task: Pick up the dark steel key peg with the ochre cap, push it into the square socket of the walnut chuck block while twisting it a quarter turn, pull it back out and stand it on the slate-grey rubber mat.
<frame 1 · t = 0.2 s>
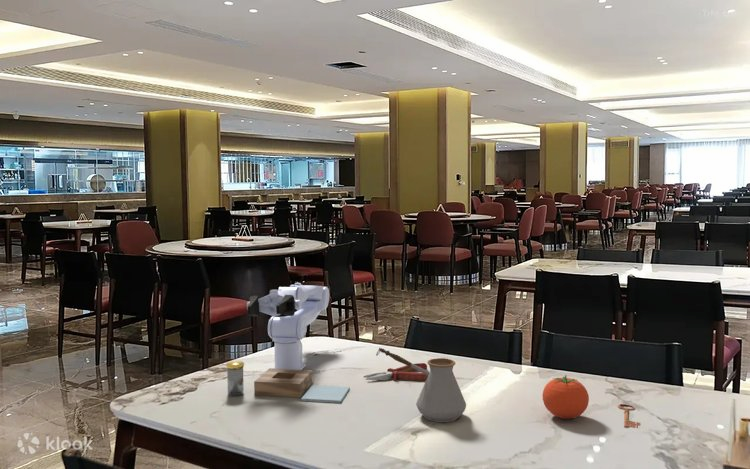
hand: (263, 310, 168), 21 cm above the table, tool horizontal, fingers open, 7 cm apart
coffee pot: (420, 415, 154), on the table
tomato: (564, 418, 151), on the table
rubber mat: (326, 394, 168), on the table
chuck block: (284, 388, 173), on the table
steel key peg: (235, 394, 168), on the table
pliers: (401, 377, 185), on the table
key: (630, 419, 152), on the table
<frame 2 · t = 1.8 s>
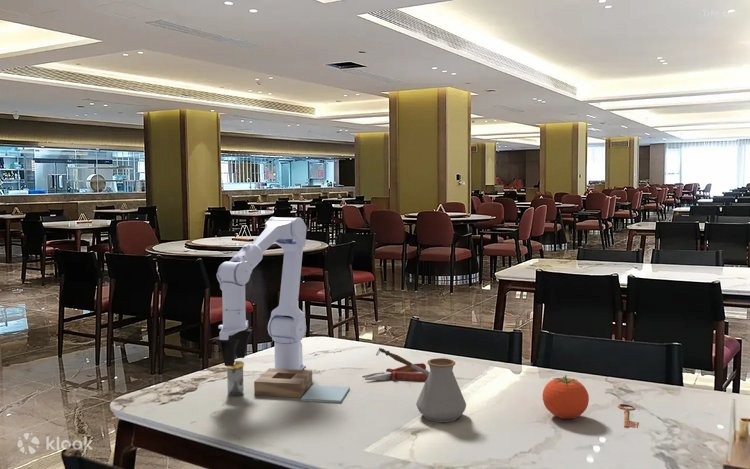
hand: (234, 361, 168), 8 cm above the table, tool pointing down, fingers open, 7 cm apart
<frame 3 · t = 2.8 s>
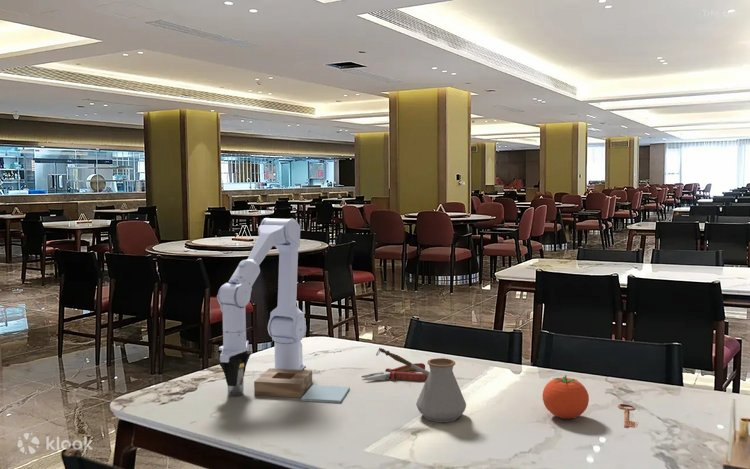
hand: (235, 382, 168), 3 cm above the table, tool pointing down, fingers closed on steel key peg, 4 cm apart
steel key peg: (235, 394, 168), on the table, touching gripper
everything else where it was.
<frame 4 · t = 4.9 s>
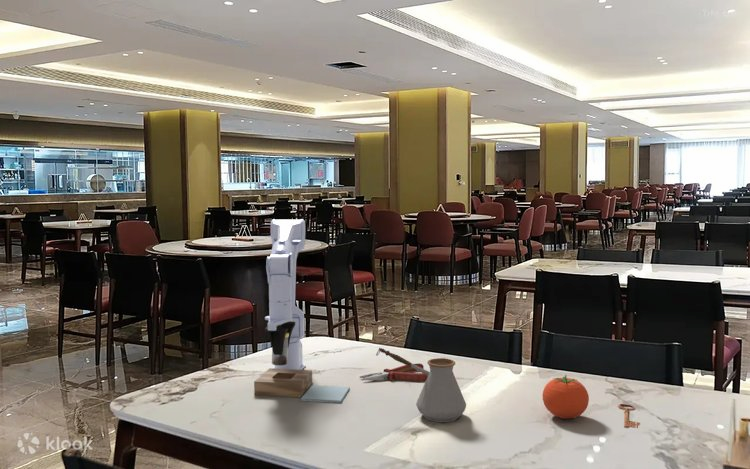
hand: (280, 352, 172), 10 cm above the table, tool pointing down, fingers closed on steel key peg, 4 cm apart
steel key peg: (279, 363, 172), point 7 cm above the table, touching gripper
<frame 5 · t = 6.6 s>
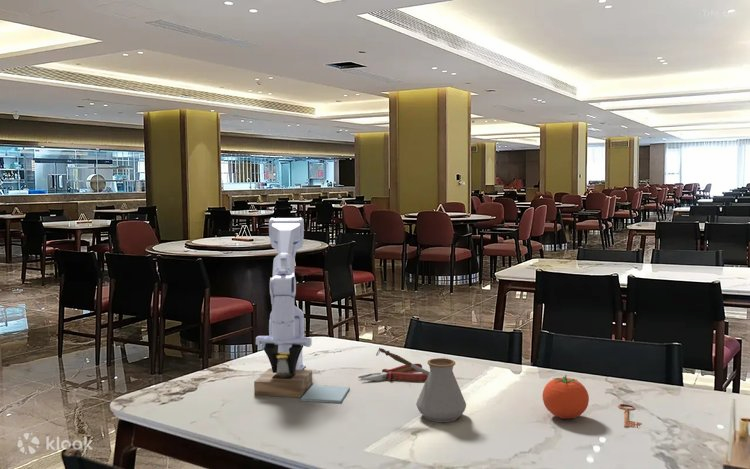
hand: (284, 372, 172), 4 cm above the table, tool pointing down, fingers closed on steel key peg, 4 cm apart
steel key peg: (284, 384, 172), point 1 cm above the table, touching gripper
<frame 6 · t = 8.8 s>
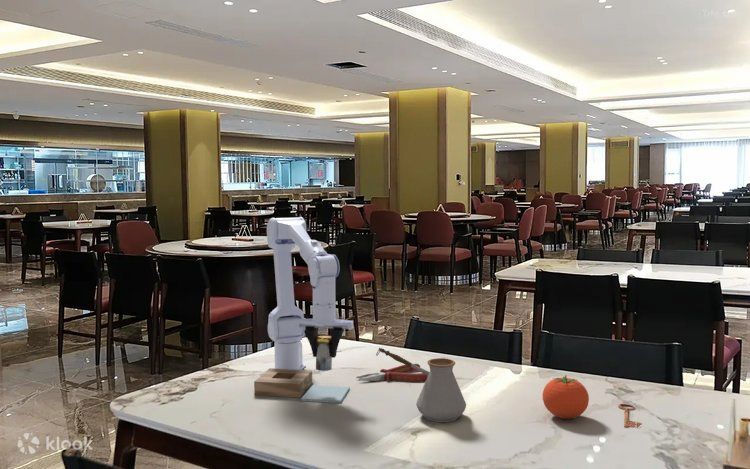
hand: (324, 356, 167), 10 cm above the table, tool pointing down, fingers closed on steel key peg, 4 cm apart
steel key peg: (323, 368, 167), point 7 cm above the table, touching gripper
when the fingers open (4 cm above the table, at t = 10.6 s): steel key peg stays where it is, resting on rubber mat.
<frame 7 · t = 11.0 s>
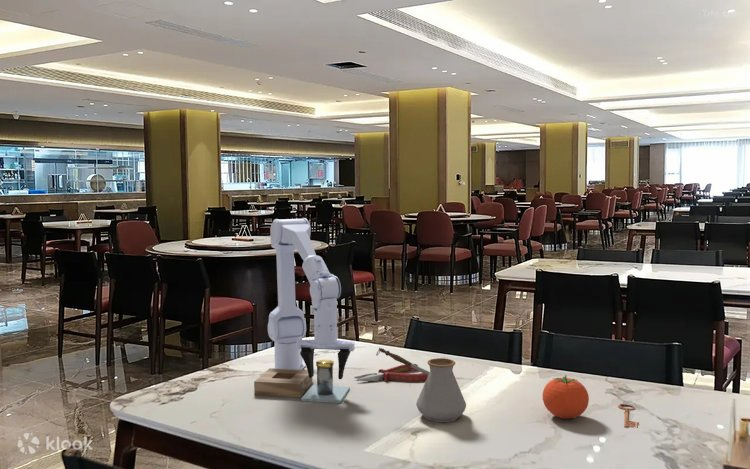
hand: (325, 377, 167), 5 cm above the table, tool pointing down, fingers open, 7 cm apart
steel key peg: (325, 392, 167), point 1 cm above the table, touching rubber mat
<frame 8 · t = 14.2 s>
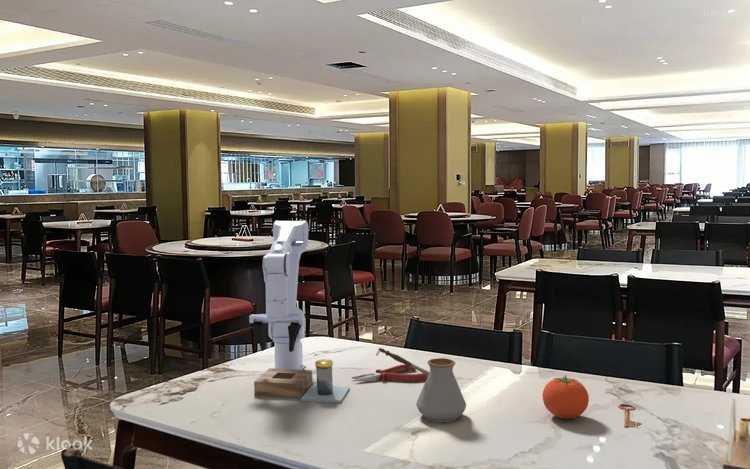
hand: (277, 350, 173), 10 cm above the table, tool pointing down, fingers open, 7 cm apart
at the end: steel key peg inside the target area on the rubber mat (0.4 cm from its centre), point 0.7 cm above the rubber mat's base; steel key peg tilted 3°; the gripper is holding nothing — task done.
